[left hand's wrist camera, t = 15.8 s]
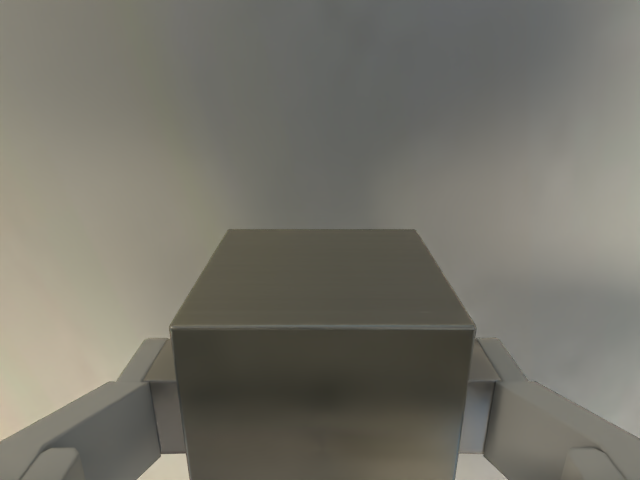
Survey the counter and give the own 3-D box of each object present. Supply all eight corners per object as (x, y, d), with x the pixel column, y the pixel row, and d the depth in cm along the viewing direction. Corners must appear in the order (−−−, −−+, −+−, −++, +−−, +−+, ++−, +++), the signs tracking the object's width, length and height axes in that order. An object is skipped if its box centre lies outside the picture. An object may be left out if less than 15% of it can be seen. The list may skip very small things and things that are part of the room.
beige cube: (403, 386, 13) (446, 547, 9) (239, 386, 13) (197, 547, 9) (416, 228, 12) (479, 326, 7) (227, 228, 12) (166, 326, 7)
